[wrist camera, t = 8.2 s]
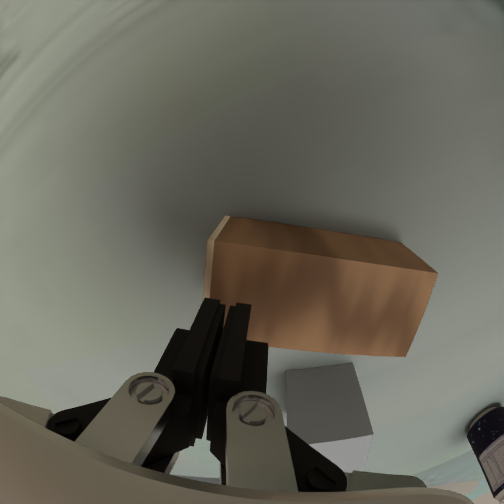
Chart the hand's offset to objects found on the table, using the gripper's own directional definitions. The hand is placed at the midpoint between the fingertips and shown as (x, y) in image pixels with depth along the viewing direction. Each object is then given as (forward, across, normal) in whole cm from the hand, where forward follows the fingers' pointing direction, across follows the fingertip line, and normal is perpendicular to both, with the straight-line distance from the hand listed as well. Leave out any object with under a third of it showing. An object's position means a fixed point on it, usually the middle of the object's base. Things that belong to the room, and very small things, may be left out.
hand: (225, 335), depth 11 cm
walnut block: (+6, +2, 0) cm, 6 cm away
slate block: (+8, -7, +10) cm, 15 cm away
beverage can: (+8, -30, +16) cm, 35 cm away
